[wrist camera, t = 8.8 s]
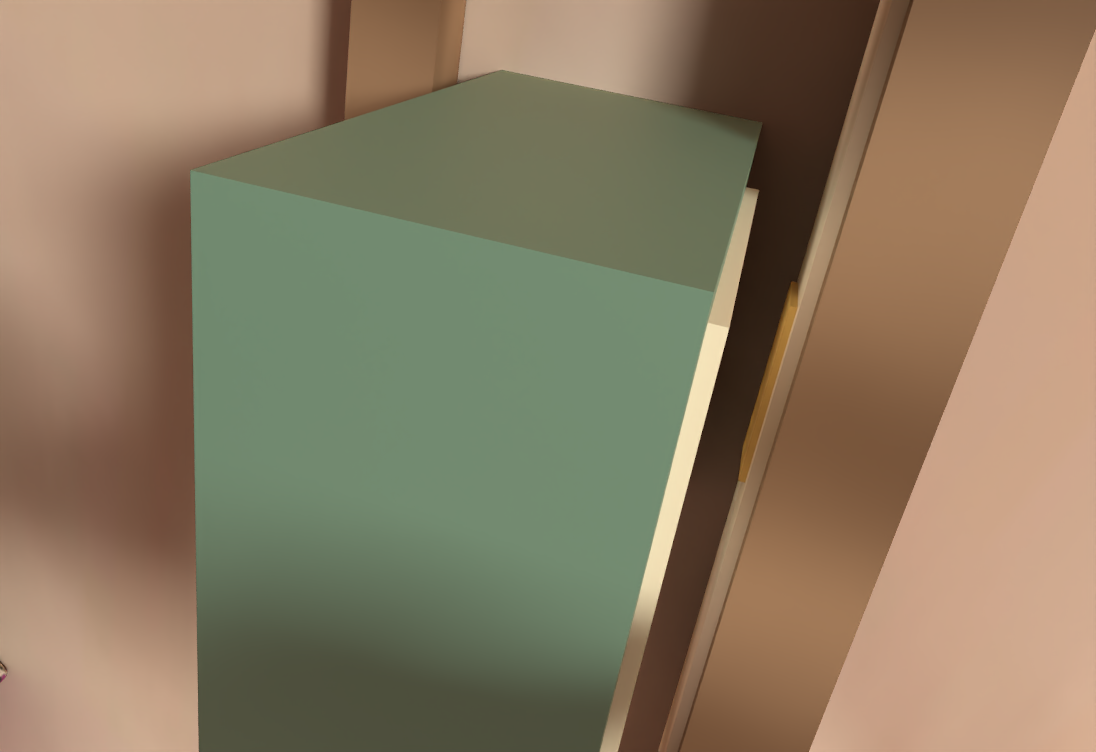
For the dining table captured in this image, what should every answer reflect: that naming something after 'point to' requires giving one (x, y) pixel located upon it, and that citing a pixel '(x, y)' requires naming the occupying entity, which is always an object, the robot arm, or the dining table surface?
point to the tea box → (453, 412)
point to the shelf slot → (836, 328)
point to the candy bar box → (2, 672)
